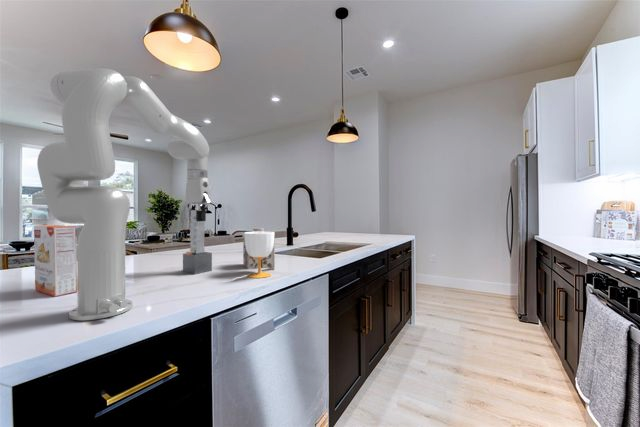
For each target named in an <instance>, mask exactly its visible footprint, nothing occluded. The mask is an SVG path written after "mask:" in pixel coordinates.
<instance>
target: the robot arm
mask: <svg viewBox="0 0 640 427" xmlns="http://www.w3.org/2000/svg"><path fill="white" fill-rule="evenodd" d="M49 85H50V91H51V93H52V94H53V96H54V97H55V98H56V99H57V101H59V102H60V103H61V104H63V106H62V111H61V122H62V130H63V136H64V137H63V138H64V141H59V142H58V141H57V142H52V143H49V144H47V145H45V146H44V147H43V148H42V149H41V150H40V151H39V154H38V156H37V171H38V174H39V179H40V182H41V187H42V191H43V197H44V199H45V203H46V206H47V208H48V211H49V213H50V214H51V216H52V217H53V218H54V219H56V221H59V222H61V223H65V224H73V225H75V224H77V225H79V224H80V225H81V224H84V225H83V227H82V229H81V231H80V233H79V235H78V238H77V292H76V293H77V294H76V295H77V307H75V308H73V309H71V310H70V311H69V312H68V318H69V319H70V320H73V321H93V320H100V319H101V320H102V319H106V318H110V317H114V316H117V315H120V314H121V315H122V314H123V313H125V312H127V311H128V312H129V311H130V310H131V309H132V308H133V301H132V300H130V299H126V232H127V231H126V230H127V224H128V219H129V216H130V211H131V205H130V204H131V203H130V199H129V197H128V195H127V194H126V193H125V192H124V191H123V190H121V189H119V188H117V187H114V186H109V185H86V186H85V182H91V181H93V182H94V181H103V180H107V179H110V178H111V177H112V176H113V175H114V174H115V171H116V161H115V154H114V150H113V144H112V140H111V138H112V137H111V134H110V127H109V125H110V124H109V121H110V116H111V114H112V112H113V110H125V109H126V110H129V111H131V113H133V115H135V117H137V119H138V120H140V121H141V123H142V124H143V125H145V127H147V129H148V130H150V131H151V132H153V133H155V134H159V135H162V136H166V137H171V138H174V139H171V140H170V141H169V142H168V143H167V146H166V150H167V153H168V154H169V156H171V157H172V158H173V159H175V160H176V159H177V160H179V161H181V160H183V161H186V186H185V203H184V204H185V205H186V206H187V208H188V212H189V216H188V217H189V218H188V220H189V222H191V219H190V217H191V210H199V211H198V221H204V222H206V212H207V209H208V207H209V206H210V205H211V201H212V200H211V196H212V195H211V185H210V180H209V178H208V174H209V173H208V172H209V171H208V161H209V160H208V158H209V157H208V156H209V154H210V146H209V144H208V143H209V142H208V141H207V139H206V138H205V136H204V135H203V134H202V133H201V131H200V130H199V129H198V128H197V127H196V126H194V125H193V124H192V123H189V122H188V121H186V120H185V119H182V118H180V117H179V116H177V115H175V114H173V113H172V112H170V111H169V109H168V108H167V107H166V105H165V104H164V103H163V102H162V101H161V100H160V99H159V98H158V96H157V95H156V94H155V92H154V91H153V90H152V89H151V88H150V87H149V85H148V84H147V83H146V82H145V81H144V80H143V79H141V78H139V77H136V76H133V75H131V76H127V75H126V76H123V75H122V74H121V73H120V72H118V71H117V70H114V69H111V68H104V67H103V68H88V69H87V68H86V69H81V70H80V69H79V70H68V71H61V72H58V73H55V74H54V75H53V76H52V78H51V79H50V84H49ZM197 207H198V209H197Z"/></svg>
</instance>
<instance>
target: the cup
mask: <svg viewBox="0 0 640 427" xmlns="http://www.w3.org/2000/svg"><path fill="white" fill-rule="evenodd" d="M244 240H245V247H246V251H247V253H248V254H249V255H250V256H251V257H253V258H255V259H257V260H258V268H257V272H252V273H249V274H248V275H247V277H248V278H251V279H263V278H264V279H266V278H269V277H271V276H272V274H271V273H270V272H266V271H265V272H263V271H261V270H262V268H261V260H262V259H263V258H265V257H267V256H269V255H270V253H271V251H272V249H273V245H274V240H275V231H267V230H266V231H265V230H264V231H257V232H253V231H246V232H244V235H243V241H244Z"/></svg>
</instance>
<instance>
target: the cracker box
mask: <svg viewBox="0 0 640 427" xmlns="http://www.w3.org/2000/svg"><path fill="white" fill-rule="evenodd" d="M33 229H34V230H33V232H34V233H33V236H34V238H33V239H34V287H35V291H37V292H40V293H43V294H45V295H48V296H51V297H54V298H55V297H61V296H66V295H69V294H74V293H77V242H78V238H77V236H78V235H77V234H78V233H77V226H76V225H63V224H62V225H60V224H40V225H34V226H33Z"/></svg>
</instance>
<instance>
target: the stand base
mask: <svg viewBox="0 0 640 427" xmlns="http://www.w3.org/2000/svg"><path fill="white" fill-rule="evenodd" d="M209 272H213V253H212V252H207V251H204V254H198V255H193V254H192V252H191V251H186V252H184V253H182V273H185V274H190V275H200V274H204V273H209Z"/></svg>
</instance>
